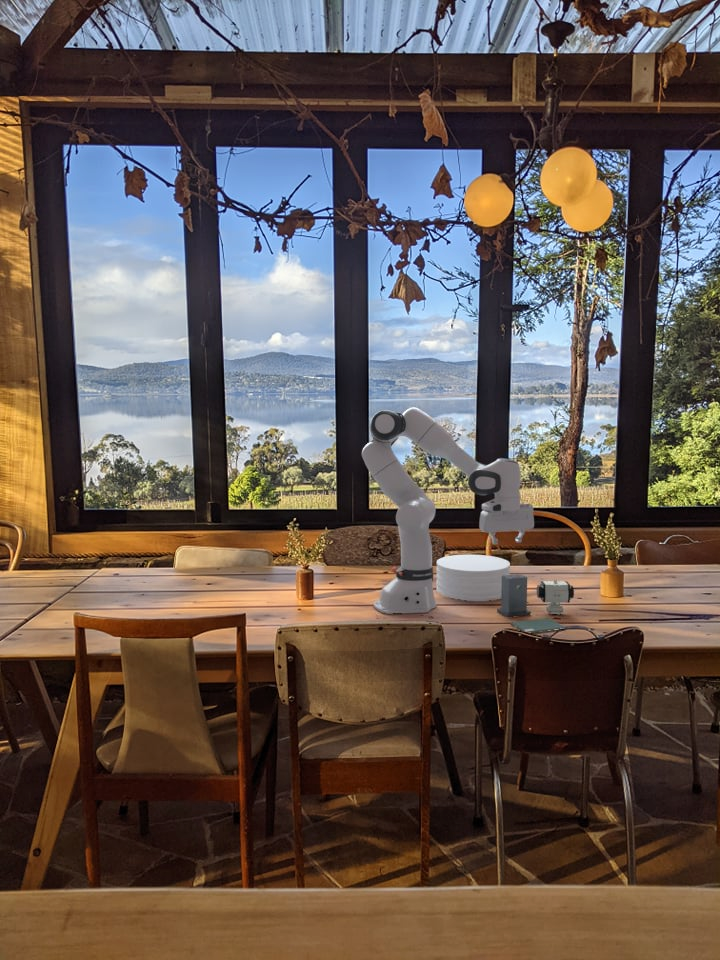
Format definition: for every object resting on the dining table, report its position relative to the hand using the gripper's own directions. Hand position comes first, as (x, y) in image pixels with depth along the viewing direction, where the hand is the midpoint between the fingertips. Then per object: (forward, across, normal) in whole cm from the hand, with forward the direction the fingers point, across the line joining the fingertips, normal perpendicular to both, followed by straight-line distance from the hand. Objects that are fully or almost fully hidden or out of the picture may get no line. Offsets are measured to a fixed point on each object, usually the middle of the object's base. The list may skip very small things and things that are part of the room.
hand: (506, 543), depth 241 cm
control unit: (+23, +2, +9) cm, 25 cm away
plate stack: (+23, +2, -22) cm, 32 cm away
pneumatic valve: (+23, -11, +14) cm, 29 cm away
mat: (+23, +2, +24) cm, 33 cm away
